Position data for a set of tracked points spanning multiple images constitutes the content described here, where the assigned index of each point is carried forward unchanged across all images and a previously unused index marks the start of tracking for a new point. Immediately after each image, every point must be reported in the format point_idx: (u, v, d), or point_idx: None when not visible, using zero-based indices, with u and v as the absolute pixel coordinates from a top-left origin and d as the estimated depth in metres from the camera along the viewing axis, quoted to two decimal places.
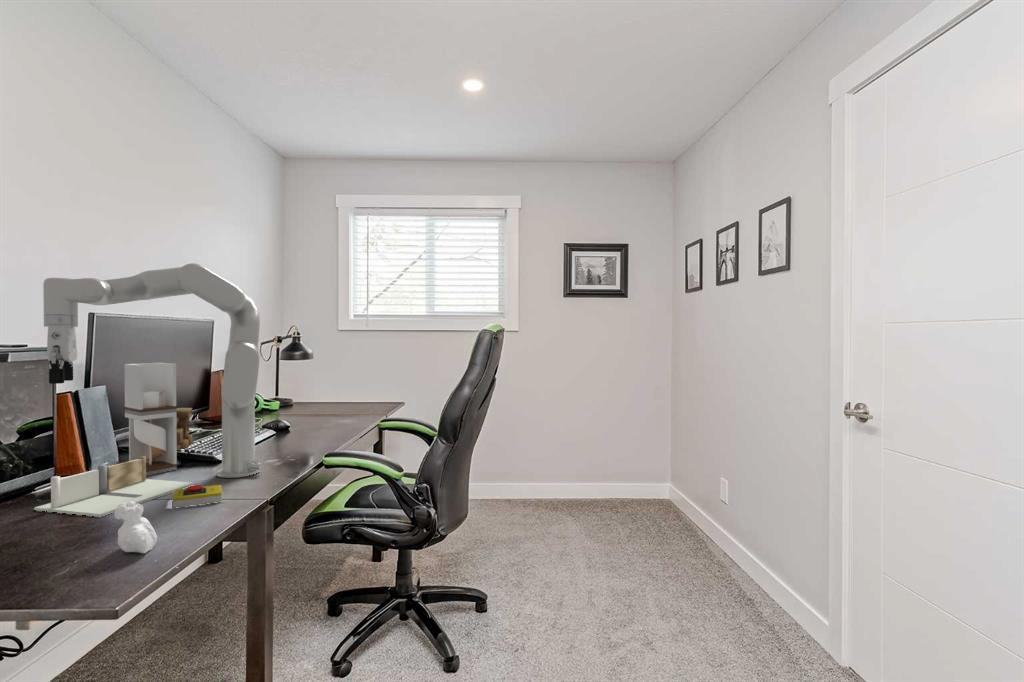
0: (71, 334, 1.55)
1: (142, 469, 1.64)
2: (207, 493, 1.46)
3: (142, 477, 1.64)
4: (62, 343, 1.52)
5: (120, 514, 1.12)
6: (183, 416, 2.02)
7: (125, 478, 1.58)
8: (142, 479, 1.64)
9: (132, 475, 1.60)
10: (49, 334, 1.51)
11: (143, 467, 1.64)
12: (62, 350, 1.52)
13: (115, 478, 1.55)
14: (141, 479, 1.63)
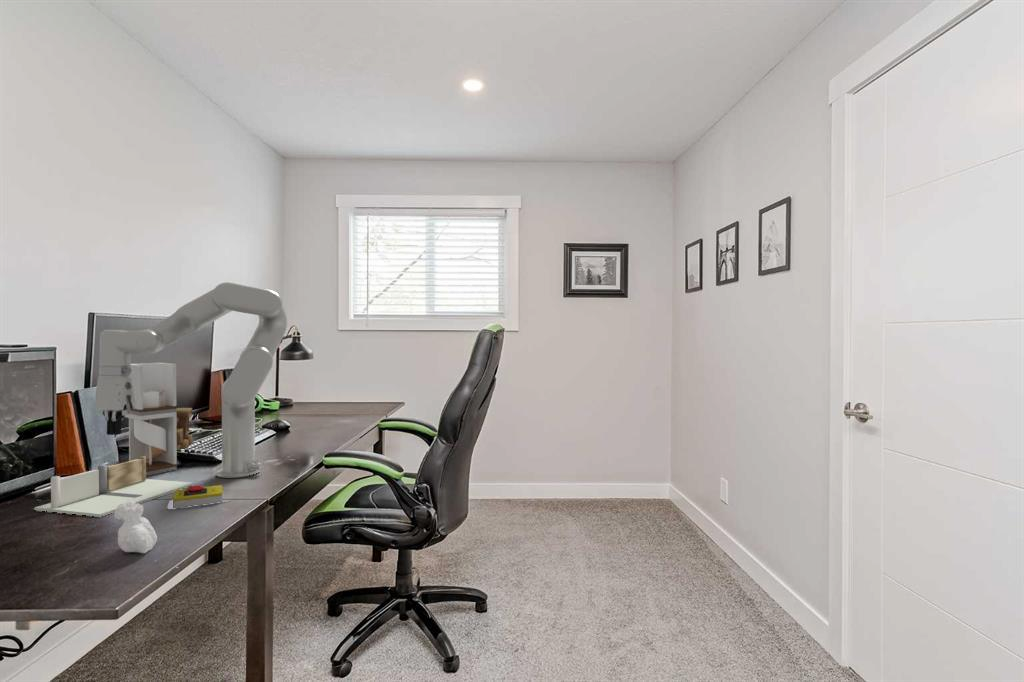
0: None
1: (142, 469, 1.64)
2: (208, 493, 1.46)
3: (142, 477, 1.64)
4: (132, 392, 1.62)
5: (120, 514, 1.12)
6: (183, 416, 2.02)
7: (125, 478, 1.58)
8: (142, 479, 1.64)
9: (132, 475, 1.60)
10: (122, 385, 1.59)
11: (143, 467, 1.64)
12: (132, 399, 1.62)
13: (115, 478, 1.55)
14: (141, 479, 1.63)
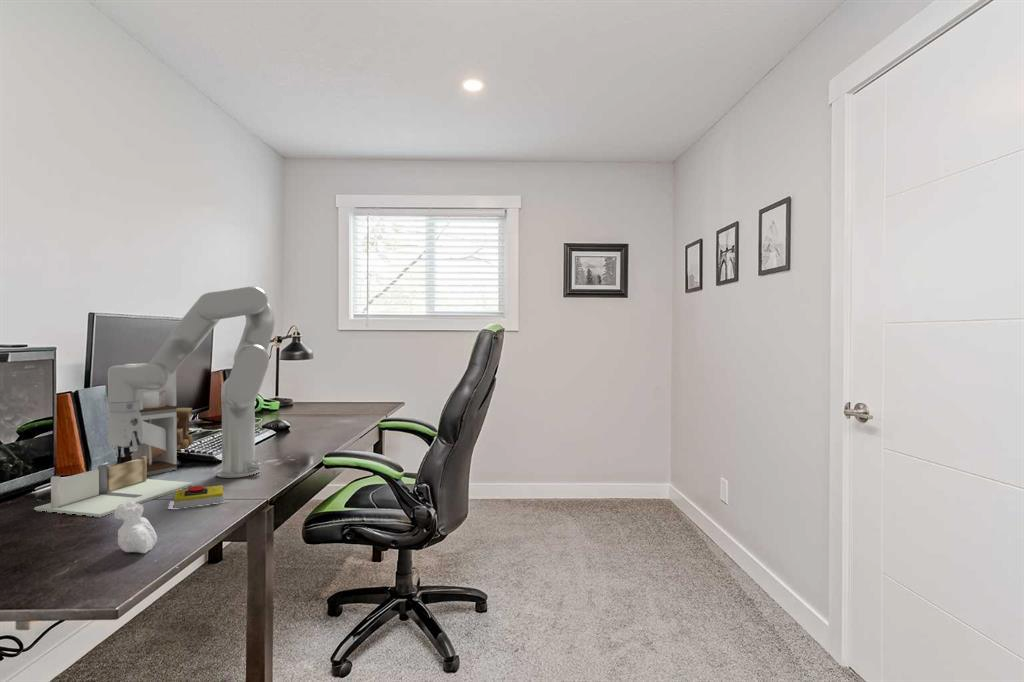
0: None
1: (142, 469, 1.63)
2: (208, 494, 1.46)
3: (143, 477, 1.63)
4: (139, 428, 1.60)
5: (120, 514, 1.12)
6: (183, 416, 2.02)
7: (125, 478, 1.58)
8: (143, 479, 1.64)
9: (132, 475, 1.60)
10: (127, 421, 1.58)
11: (144, 467, 1.64)
12: (139, 435, 1.60)
13: (115, 478, 1.55)
14: (142, 479, 1.63)
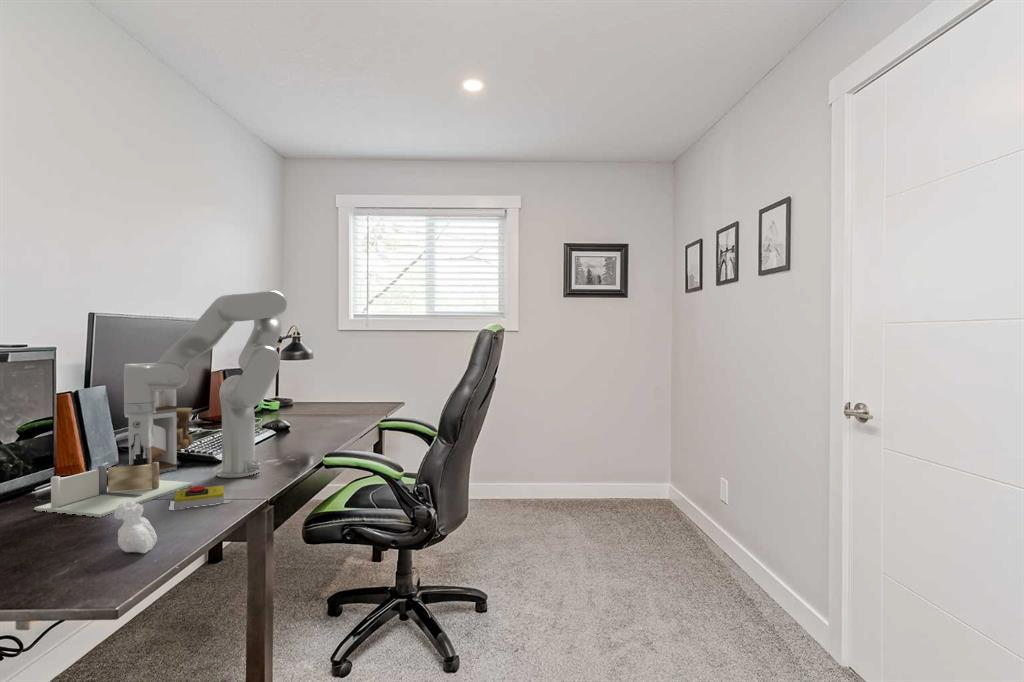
0: (150, 421, 1.57)
1: (152, 475, 1.56)
2: (209, 494, 1.45)
3: (152, 484, 1.56)
4: (142, 431, 1.54)
5: (120, 514, 1.12)
6: (183, 416, 2.02)
7: (129, 482, 1.54)
8: (152, 486, 1.56)
9: (139, 480, 1.55)
10: (130, 423, 1.53)
11: (153, 474, 1.56)
12: (142, 438, 1.53)
13: (116, 480, 1.53)
14: (151, 486, 1.56)
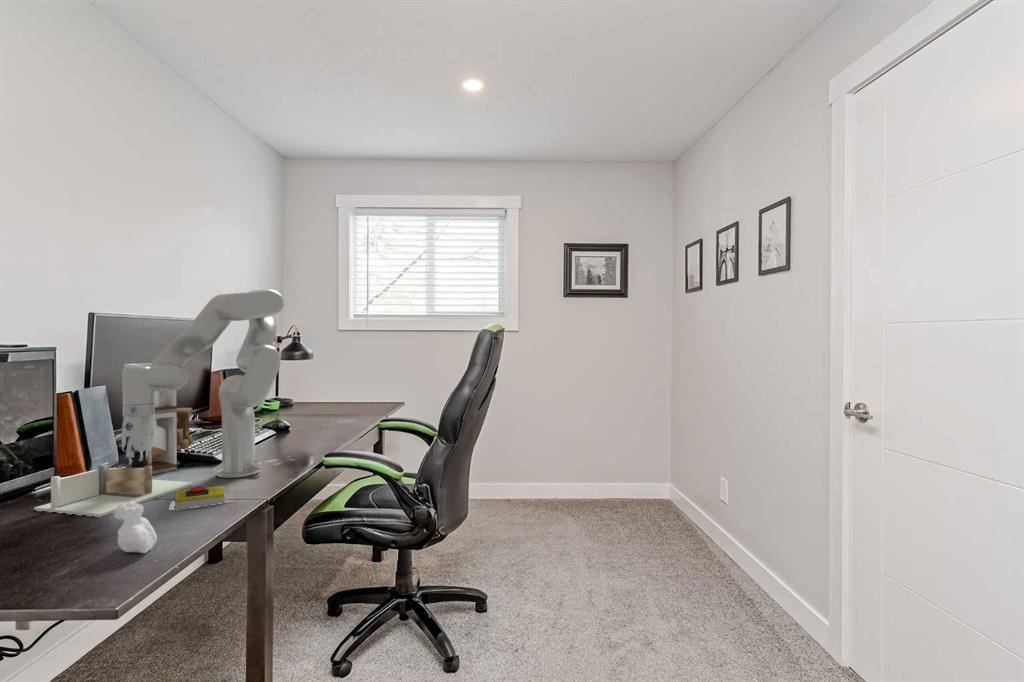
0: (145, 423, 1.53)
1: (144, 479, 1.52)
2: (210, 494, 1.45)
3: (144, 488, 1.52)
4: (134, 434, 1.50)
5: (120, 514, 1.12)
6: (183, 416, 2.02)
7: (124, 484, 1.52)
8: (144, 491, 1.52)
9: (132, 483, 1.52)
10: (123, 425, 1.50)
11: (145, 478, 1.52)
12: (134, 441, 1.50)
13: (113, 482, 1.52)
14: (143, 490, 1.52)
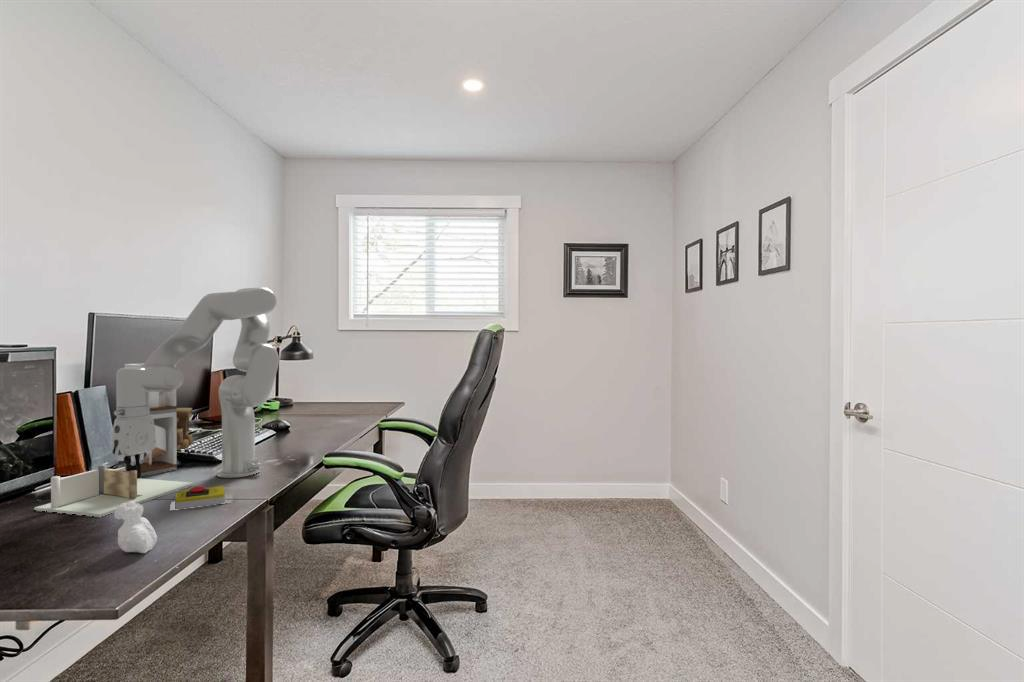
0: (135, 426, 1.49)
1: (129, 484, 1.47)
2: (210, 494, 1.45)
3: (128, 493, 1.47)
4: (120, 437, 1.46)
5: (120, 514, 1.12)
6: (183, 416, 2.02)
7: (115, 487, 1.49)
8: (129, 496, 1.47)
9: (121, 487, 1.48)
10: (113, 427, 1.47)
11: (129, 483, 1.47)
12: (120, 445, 1.46)
13: (108, 483, 1.50)
14: (128, 495, 1.47)
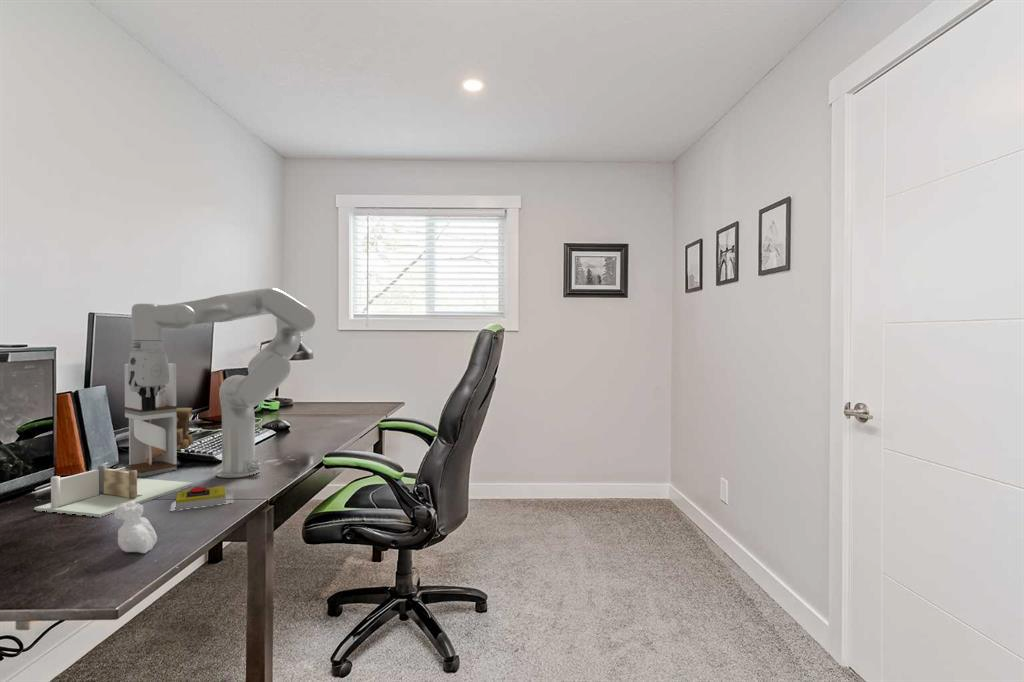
0: (150, 359, 1.55)
1: (129, 484, 1.47)
2: (211, 495, 1.45)
3: (128, 493, 1.47)
4: (136, 369, 1.53)
5: (120, 514, 1.12)
6: (183, 416, 2.02)
7: (115, 487, 1.49)
8: (129, 496, 1.47)
9: (121, 487, 1.48)
10: (129, 359, 1.54)
11: (129, 483, 1.47)
12: (136, 376, 1.53)
13: (108, 483, 1.50)
14: (128, 495, 1.47)
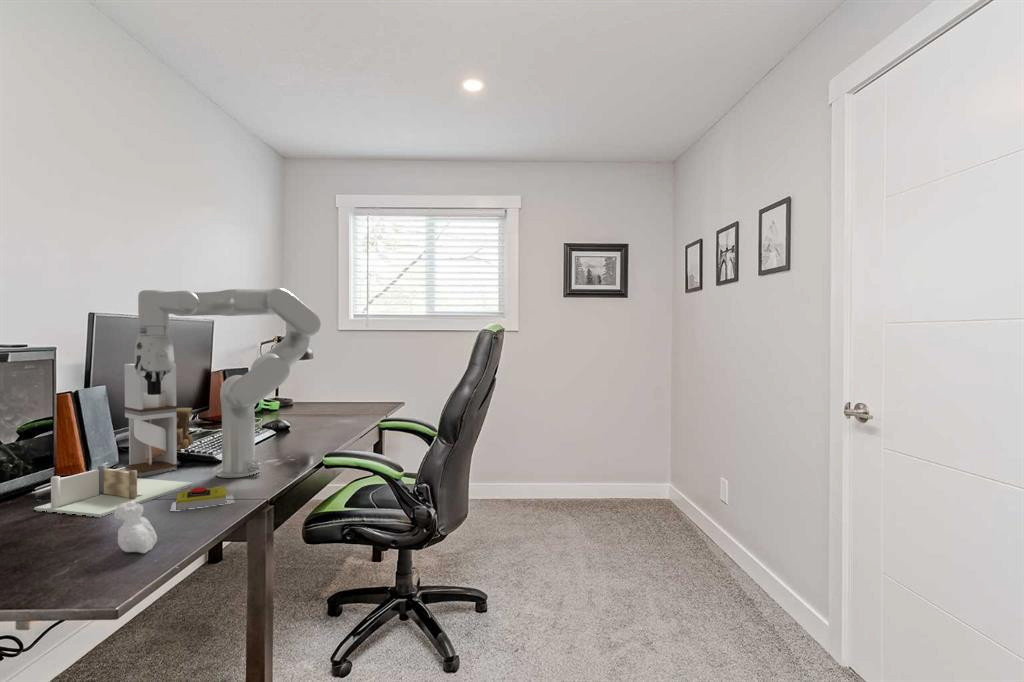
0: (156, 344, 1.60)
1: (129, 484, 1.47)
2: (211, 495, 1.44)
3: (128, 493, 1.47)
4: (142, 353, 1.57)
5: (120, 514, 1.12)
6: (183, 416, 2.02)
7: (115, 487, 1.49)
8: (129, 496, 1.47)
9: (121, 487, 1.48)
10: (136, 344, 1.58)
11: (129, 483, 1.47)
12: (142, 360, 1.57)
13: (108, 483, 1.50)
14: (128, 495, 1.47)
